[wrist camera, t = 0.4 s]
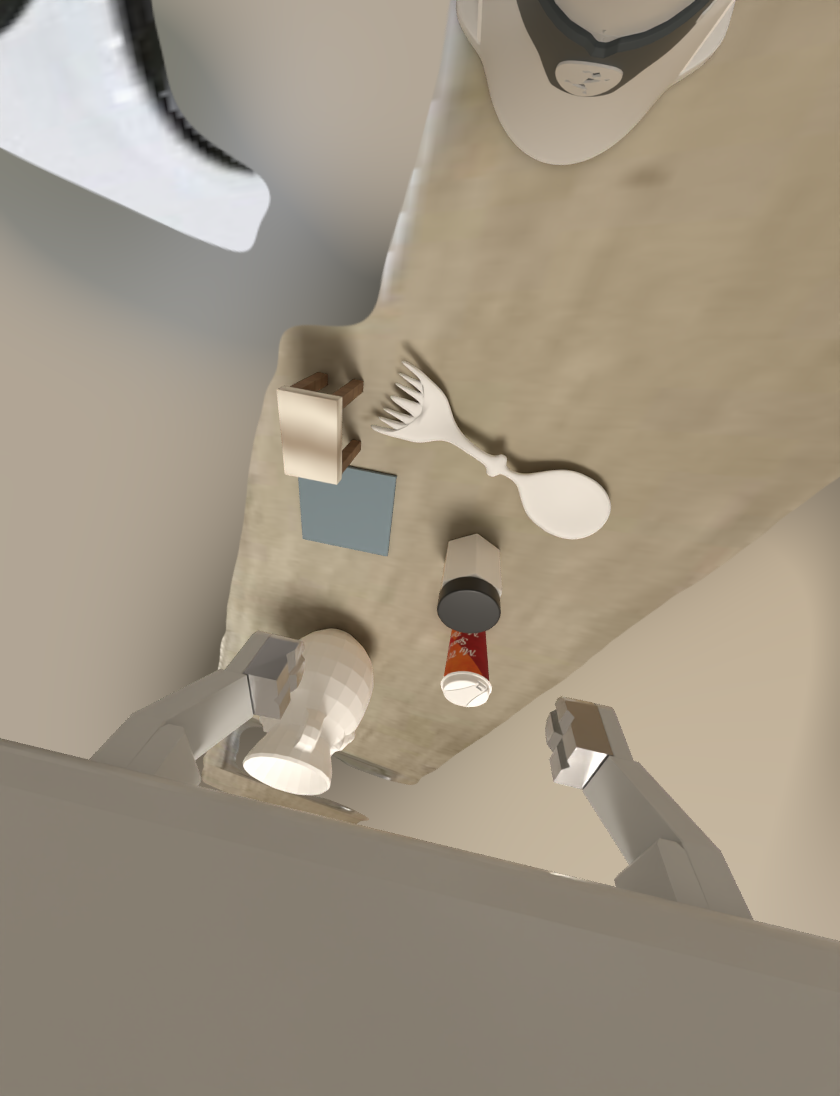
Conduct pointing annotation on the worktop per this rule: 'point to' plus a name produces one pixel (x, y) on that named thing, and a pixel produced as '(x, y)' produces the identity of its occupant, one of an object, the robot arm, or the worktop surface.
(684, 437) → the worktop surface
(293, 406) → the stool
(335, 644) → the white vase
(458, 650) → the paper cup
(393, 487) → the mat
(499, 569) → the jar
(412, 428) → the white spork
